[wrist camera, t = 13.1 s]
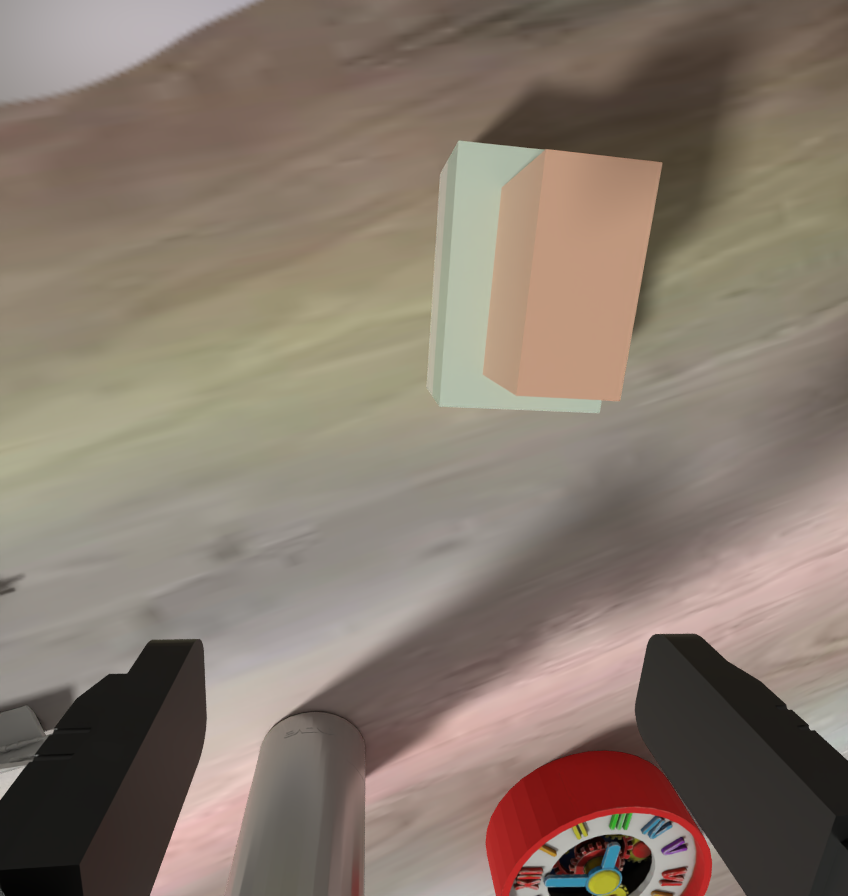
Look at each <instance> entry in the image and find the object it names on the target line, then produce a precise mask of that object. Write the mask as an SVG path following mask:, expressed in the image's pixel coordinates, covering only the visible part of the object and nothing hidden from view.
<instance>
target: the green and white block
mask: <svg viewBox="0 0 848 896" xmlns="http://www.w3.org/2000/svg"><path fill="white" fill-rule="evenodd" d="M543 151H544V150H542V149H533V148H523V147H514V146H504V145H495V144H485V143H476V142H466V141H458V143H457V144H456V146H455V148H454V150H453V152H452V153H451V155H450V157H449V159H448V161H447V162H446V164H445V166H444V168H443V170H442V172H441V173H440V184H439V200H438V215H437V231H436V246H435V262H434V278H433V293H432V309H431V324H430V340H429V356H428V371H427V387H426V388H427V389H428V390H429V392H430V393H431V395H432V396H433V398H434V399H435V401H436V402H437V404H438V405H439V406H440V407H464V408H488V409H513V410H537V411H561V412H586V413H600V407H601V401H602V400H588V399H569V398H550V397H530V396H516V395H514V394H513V393H511V392H509V391H508V390H506V389H505V388H503V387H501V386H500V385H498V384H497V383H495V382H494V381H492V380H490V379H489V378H487V377H486V376H484V375H483V367H484V357H485V347H486V337H487V327H488V317H489V308H490V298H491V288H492V278H493V268H494V258H495V248H496V238H497V229H498V219H499V209H500V199H501V189H502V187H503V186H504V185H505V184H506V183H508V182H509V181H510V180H511V179H512V178H513V177H514V176H516V175H517V174H518V173H519V172H520V171H521V170H522V169H524V168H525V167H526V166H527V165H528V164H529V163H531V162H532V161H533V160H534V159H535V158H536V157H537V156H539V155H540V154H541V153H542V152H543Z"/></svg>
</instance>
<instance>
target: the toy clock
mask: <svg viewBox="0 0 848 896" xmlns="http://www.w3.org/2000/svg"><path fill="white" fill-rule="evenodd" d="M486 850H487V857H488V861H489V866H490V870H491V875H492V880H493V884H494V889H495V893H496V896H704V895H705V893H706V891H707V888H708V885H709V882H710V878H711V871H712V859H711V853H710V849H709V847H708V845H707V842H706V840H705V838H704V836H703V835H702V833H701V832H700V830H699V828H698V827H697V825H696V824H695V822H694V820H693V819H692V817H691V816H690V814H689V812H688V811H687V809H686V807H685V806H684V804H683V803H682V801H681V799H680V798H679V796H678V795H677V793H676V791H675V790H674V788H673V787H672V785H671V783H670V782H669V780H668V779H667V778H666V777H665V775H664V774H663V773H662V772H661V771H660V770H659V769H658V768H657V767H655V766H654V765H653V764H651V763H650V762H648V761H646V760H644V759H642V758H640V757H638V756H634V755H631V754H627V753H623V752H615V751H588V752H583V753H578V754H572V755H569V756H566V757H563V758H560V759H557V760H554V761H552V762H550V763H548V764H546V765H544V766H541V767H539V768H537V769H536V770H534V771H533V772H531V773H530V774H528V775H527V776H525V777H524V778H522V779H521V780H520V781H519V782H518V783H517V784H516V785H515V786H513V787H512V788H511V789H510V790H509V791H508V793H507V794H506V795H505V796H504V797H503V799H502V800H501V801H500V802H499V804H498V806H497V807H496V809H495V811H494V813H493V814H492V816H491V819H490V822H489V825H488V828H487V835H486Z"/></svg>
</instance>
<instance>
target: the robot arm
mask: <svg viewBox="0 0 848 896" xmlns="http://www.w3.org/2000/svg"><path fill="white" fill-rule="evenodd" d="M635 715H636V721H637V726H638V729H639V732H640V735H641V737H642V739H643V741H644V742H645V744H646V746H647V747H648V749H649V750H650V752H651V753H652V755H653V756H654V758H655V759H656V761H657V762H658V764H659V765H660V767H661V768H662V770H663V771H664V773H665V774H666V776H667V777H668V779H669V780H670V782H671V783H672V785H673V786H674V788H675V789H676V791H677V792H678V794H679V795H680V797H681V798H682V800H683V801H684V803H685V804H686V806H687V807H688V809H689V810H690V812H691V813H692V815H693V816H694V818H695V819H696V821H697V822H698V824H699V825H700V827H701V828H702V830H703V831H704V833H705V834H706V836H707V837H708V839H709V840H710V842H711V843H712V845H713V846H714V848H715V849H716V851H717V852H718V854H719V855H720V857H721V858H722V860H723V861H724V863H725V864H726V866H727V867H728V869H729V870H730V872H731V873H732V875H733V876H734V877H735V879H736V880H737V882H738V883H739V885H740V886H741V888H742V889H743V891H744V892H745V894H746V895H747V896H848V760H846V759H845V758H844V757H843V756H842V755H841V754H840V753H839V752H838V751H837V750H835V749H834V748H833V747H832V746H831V745H830V744H829V743H828V742H827V741H826V740H824V739H823V738H822V737H821V736H820V735H819V734H818V733H817V732H816V731H815V730H813V731H811V730H810V729H809V725H808V724H807V723H806V722H805V721H804V720H802V719H801V718H800V717H799V716H798V715H797V714H796V713H795V712H794V711H793V710H788V709H787V707H786V704H785V703H784V702H783V701H782V700H781V699H779V698H778V697H777V696H776V695H775V694H774V693H773V692H772V691H771V690H770V689H768V688H767V687H766V686H765V685H764V684H763V683H762V682H761V681H759V680H758V679H756V678H754V677H753V676H751V675H749V674H748V673H746V672H744V671H743V670H741V669H739V668H738V667H736V666H735V665H733V664H731V663H730V662H728V661H727V660H726V659H724V658H723V657H722V656H721V655H720V654H719V653H718V652H717V651H716V650H715V649H714V648H713V647H712V646H711V645H710V644H708V643H707V642H706V641H705V640H704V639H703V638H702V637H701V636H699V635H697V634H655V635H653V636H652V637H651V638H650V639H649V641H648V644H647V648H646V653H645V658H644V663H643V668H642V673H641V678H640V683H639V688H638V693H637V698H636V703H635ZM206 720H207V713H206V690H205V668H204V648H203V644H202V641H201V640H200V639H175V640H151V641H150V642H148V644H147V645H146V646H145V648H144V649H143V651H142V652H141V654H140V655H139V657H138V658H137V660H136V661H135V663H134V664H133V666H132V667H131V669H130V670H129V672H128V673H127V674H109V675H107V676H106V677H105V678H103V679H102V680H101V681H99V682H98V683H97V684H95V685H94V686H93V687H91V688H90V689H89V690H87V691H86V692H85V693H83V694H82V695H81V696H79V697H78V698H77V699H76V700H75V701H74V703H73V704H72V705H71V707H70V708H69V709H68V711H67V712H66V713H65V715H64V716H63V717H62V719H61V720H60V721H59V723H58V724H57V725H56V727H55V728H54V732H53V734H52V735H49V736H48V737H47V739H46V740H45V741H44V743H43V744H42V745H41V747H40V748H39V749H38V751H37V752H36V753H35V755H34V759H33V761H32V762H29V763H28V764H27V765H26V767H25V768H24V769H23V771H22V772H21V773H20V775H19V776H18V777H17V779H16V780H15V781H14V783H13V784H12V785H11V787H10V788H9V789H8V791H7V792H6V793H5V795H4V796H3V797H2V799H1V800H0V896H150V893H151V891H152V888H153V885H154V882H155V880H156V877H157V874H158V871H159V869H160V866H161V863H162V861H163V858H164V855H165V852H166V850H167V847H168V844H169V842H170V839H171V836H172V833H173V831H174V828H175V825H176V822H177V820H178V817H179V814H180V812H181V809H182V806H183V803H184V801H185V798H186V795H187V793H188V790H189V787H190V784H191V782H192V779H193V776H194V773H195V771H196V768H197V765H198V763H199V760H200V756H201V753H202V749H203V744H204V739H205V732H206ZM365 751H366V748H365V744H364V740H363V738H362V736H361V734H360V732H359V731H358V730H357V729H356V728H355V726H354V725H353V724H351V723H350V722H348V721H347V720H346V719H343V718H341V717H339V716H337V715H333V714H329V713H324V712H308V713H301V714H298V715H294V716H291V717H289V718H287V719H285V720H283V721H281V722H280V723H278V724H277V725H276V726H274V727H273V728H272V729H271V730H270V731H269V733H268V734H267V735H266V737H265V738H264V740H263V742H262V745H261V749H260V753H259V757H258V761H257V765H256V769H255V773H254V777H253V781H252V785H251V788H250V792H249V796H248V800H247V804H246V808H245V813H244V817H243V821H242V825H241V829H240V833H239V837H238V841H237V845H236V849H235V854H234V858H233V862H232V866H231V870H230V874H229V878H228V882H227V886H226V890H225V895H224V896H364V875H365Z"/></svg>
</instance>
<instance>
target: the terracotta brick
mask: <svg viewBox="0 0 848 896" xmlns="http://www.w3.org/2000/svg"><path fill="white" fill-rule="evenodd" d="M662 163H663V162H655V161H646V160H637V159H628V158H620V157H611V156H602V155H593V154H585V153H576V152H567V151H558V150H549V149H546V150H544V151H543V152H542V153H541V154H540V155H539V156H537V157H536V158H535V159H534V160H533V161H532V162H531V163H529V164H528V165H527V166H526V167H525V168H524V169H522V170H521V171H520V172H519V173H518V174H517V175H516V176H514V177H513V178H512V179H511V180H510V181H509V182H508V183H506V184H505V185H504V186H503V187H502V189H501V199H500V209H499V219H498V229H497V238H496V248H495V258H494V268H493V278H492V288H491V298H490V308H489V317H488V327H487V337H486V347H485V357H484V367H483V375H484V376H486V377H487V378H489V379H490V380H492V381H494V382H495V383H497V384H498V385H500V386H501V387H503V388H505V389H506V390H508V391H509V392H511V393H513V394H514V395H516V396H530V397H550V398H569V399H588V400H607V401H620V398H621V393H622V387H623V382H624V376H625V370H626V365H627V359H628V354H629V348H630V342H631V337H632V331H633V326H634V320H635V314H636V309H637V303H638V297H639V292H640V286H641V281H642V275H643V269H644V264H645V258H646V253H647V247H648V241H649V236H650V230H651V225H652V219H653V213H654V208H655V202H656V197H657V191H658V185H659V180H660V174H661V169H662Z"/></svg>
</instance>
